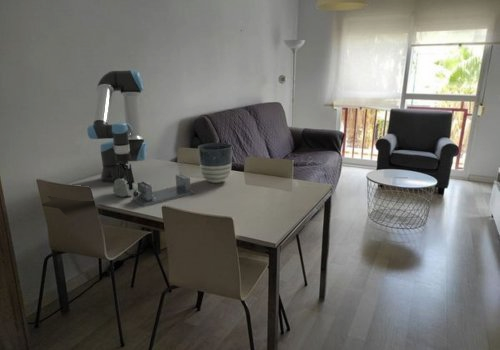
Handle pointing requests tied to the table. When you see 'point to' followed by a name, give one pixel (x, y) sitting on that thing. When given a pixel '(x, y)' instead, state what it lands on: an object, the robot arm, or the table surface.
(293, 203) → the table surface
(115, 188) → the decorative stone
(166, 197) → the vise base
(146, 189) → the jaw
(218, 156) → the planter
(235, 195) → the table surface
